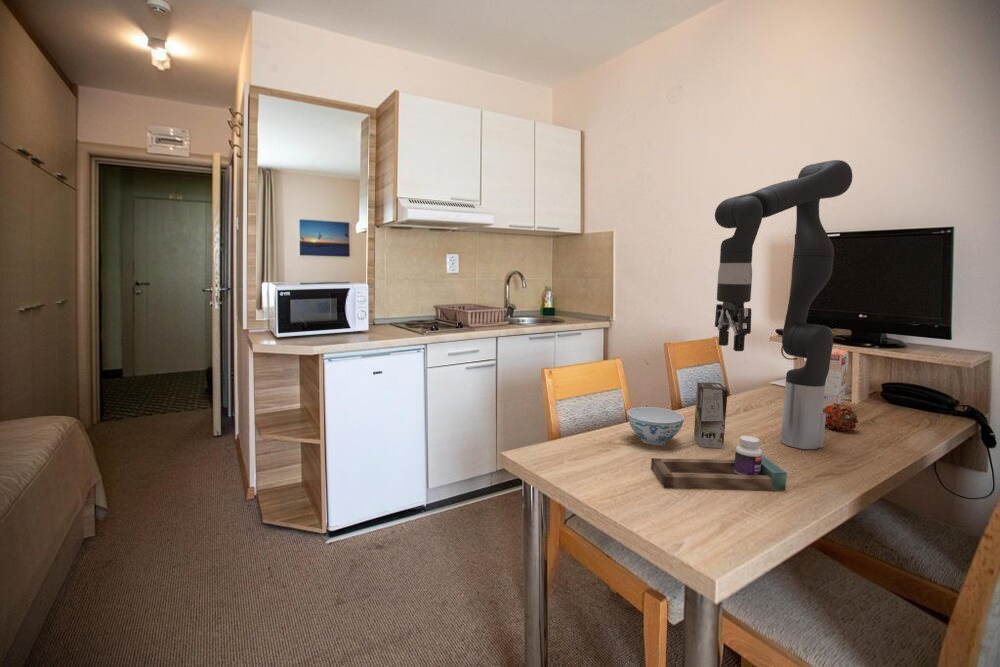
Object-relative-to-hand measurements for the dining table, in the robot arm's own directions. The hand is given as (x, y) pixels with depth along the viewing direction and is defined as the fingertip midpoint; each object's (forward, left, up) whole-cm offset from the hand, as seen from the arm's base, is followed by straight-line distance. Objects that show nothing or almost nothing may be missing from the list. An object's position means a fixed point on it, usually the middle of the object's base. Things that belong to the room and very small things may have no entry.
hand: (730, 348), depth 124 cm
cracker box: (-56, -47, -29) cm, 78 cm away
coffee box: (-1, -12, -29) cm, 31 cm away
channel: (+7, +13, -28) cm, 32 cm away
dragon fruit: (-45, -27, -29) cm, 60 cm away
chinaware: (+14, -12, -29) cm, 34 cm away
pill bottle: (0, +13, -29) cm, 31 cm away
